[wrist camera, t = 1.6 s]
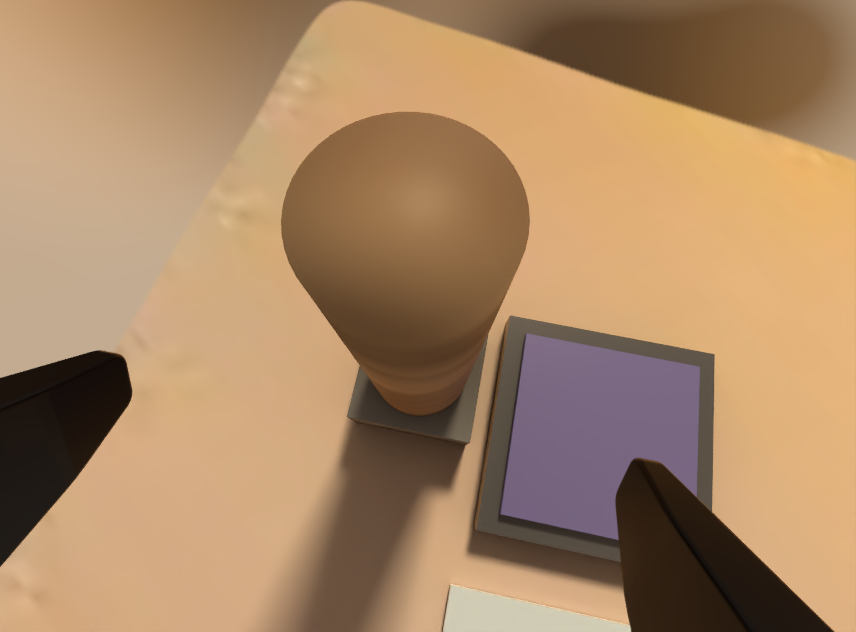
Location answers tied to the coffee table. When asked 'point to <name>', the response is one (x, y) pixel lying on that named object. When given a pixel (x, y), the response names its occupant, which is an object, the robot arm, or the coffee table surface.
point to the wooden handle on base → (409, 261)
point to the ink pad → (588, 431)
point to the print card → (515, 615)
